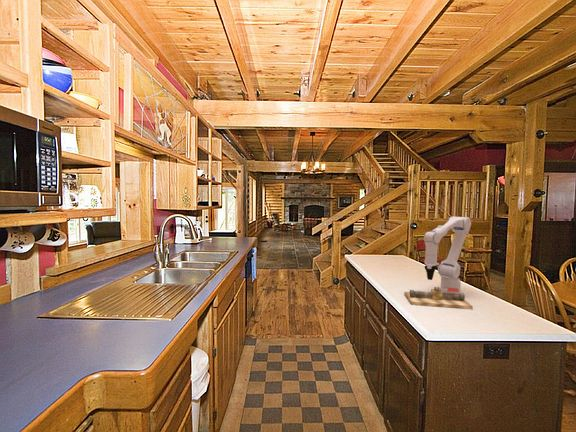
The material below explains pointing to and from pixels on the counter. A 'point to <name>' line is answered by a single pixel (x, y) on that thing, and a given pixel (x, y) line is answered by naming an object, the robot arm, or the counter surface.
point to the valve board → (437, 299)
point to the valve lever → (447, 289)
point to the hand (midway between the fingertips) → (429, 279)
